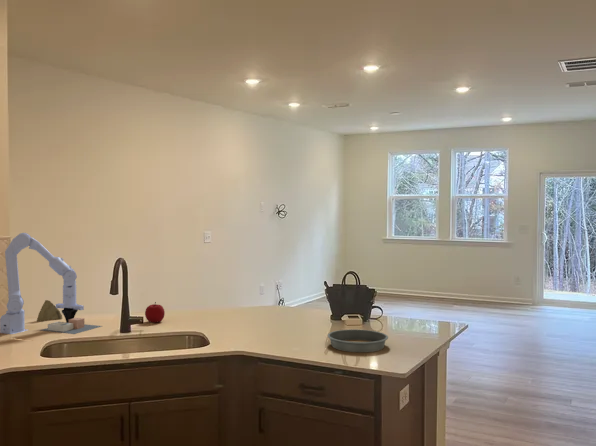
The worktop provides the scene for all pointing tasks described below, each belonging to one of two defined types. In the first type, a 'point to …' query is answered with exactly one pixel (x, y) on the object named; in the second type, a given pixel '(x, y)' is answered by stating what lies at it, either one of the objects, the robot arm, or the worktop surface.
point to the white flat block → (60, 326)
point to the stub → (77, 322)
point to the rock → (49, 312)
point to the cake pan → (356, 334)
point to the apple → (154, 313)
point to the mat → (75, 331)
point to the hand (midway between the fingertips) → (69, 324)
